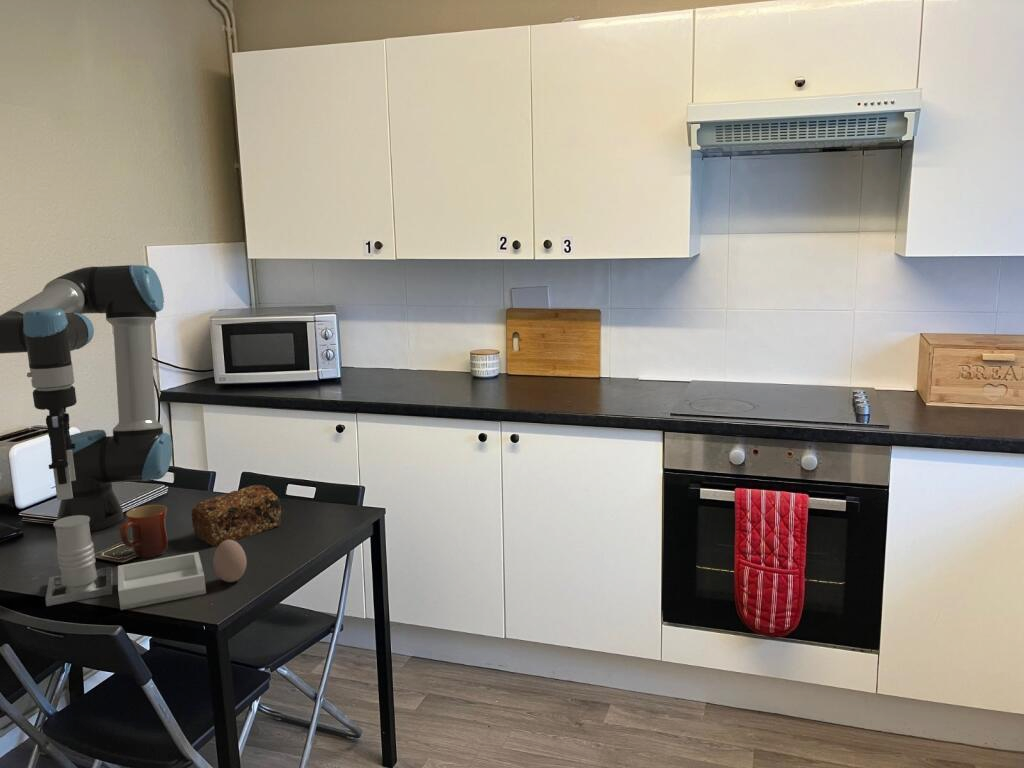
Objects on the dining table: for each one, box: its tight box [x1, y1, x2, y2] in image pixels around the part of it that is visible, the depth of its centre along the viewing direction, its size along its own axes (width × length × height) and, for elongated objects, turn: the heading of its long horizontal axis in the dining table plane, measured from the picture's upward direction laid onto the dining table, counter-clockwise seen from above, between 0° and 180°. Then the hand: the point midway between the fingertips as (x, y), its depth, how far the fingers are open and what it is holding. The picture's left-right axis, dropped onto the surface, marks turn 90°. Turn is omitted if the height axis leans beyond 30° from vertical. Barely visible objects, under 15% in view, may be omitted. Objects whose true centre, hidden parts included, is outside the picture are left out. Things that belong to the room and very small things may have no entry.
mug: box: [119, 504, 169, 559], centre depth 196 cm, size 12×9×10 cm
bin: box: [117, 551, 207, 611], centre depth 179 cm, size 14×16×4 cm
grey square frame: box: [45, 566, 113, 607], centre depth 180 cm, size 12×12×2 cm
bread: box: [191, 484, 282, 547], centre depth 210 cm, size 19×11×10 cm, turn 135°
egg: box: [212, 540, 248, 583], centre depth 181 cm, size 7×7×9 cm
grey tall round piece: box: [53, 515, 98, 594], centre depth 179 cm, size 7×7×15 cm
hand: (66, 489), depth 176 cm, fingers open, 13 cm apart
